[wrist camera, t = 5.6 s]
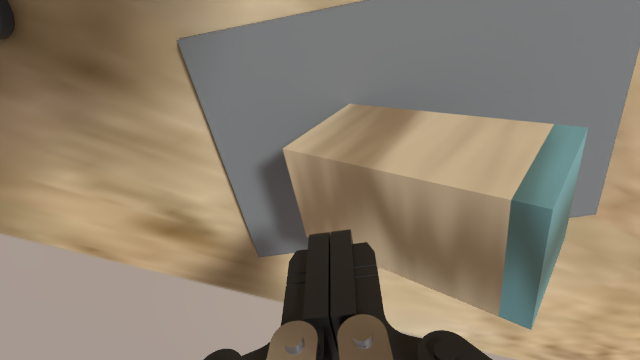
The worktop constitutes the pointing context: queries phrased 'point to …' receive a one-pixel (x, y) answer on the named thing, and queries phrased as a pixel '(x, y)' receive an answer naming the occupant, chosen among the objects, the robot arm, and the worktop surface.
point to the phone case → (6, 19)
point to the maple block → (444, 198)
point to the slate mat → (408, 83)
